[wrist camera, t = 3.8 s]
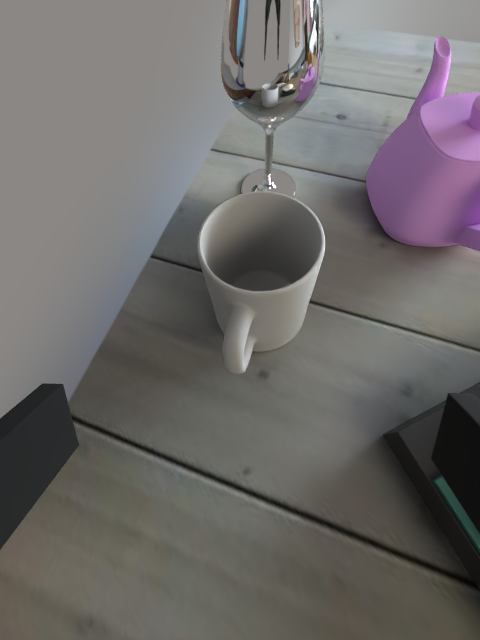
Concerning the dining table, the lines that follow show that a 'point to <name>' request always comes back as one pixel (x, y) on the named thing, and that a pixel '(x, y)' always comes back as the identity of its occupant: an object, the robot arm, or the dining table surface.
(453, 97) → the teapot
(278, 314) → the mug
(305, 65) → the wineglass
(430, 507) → the scale
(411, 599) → the dining table surface
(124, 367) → the dining table surface
